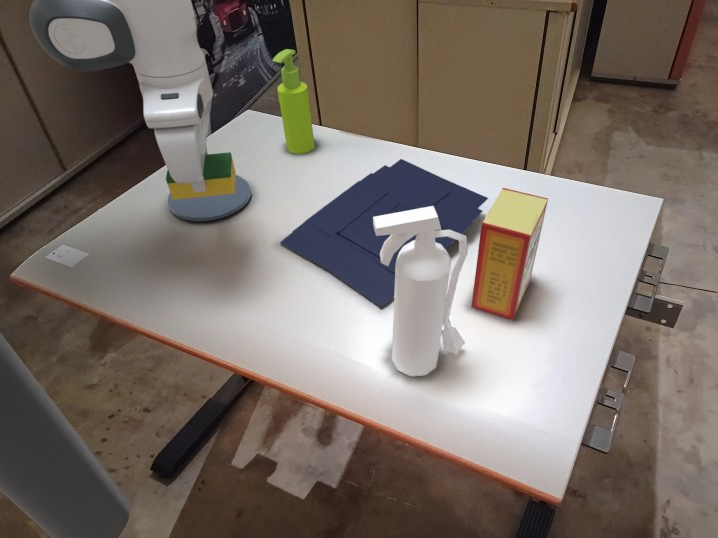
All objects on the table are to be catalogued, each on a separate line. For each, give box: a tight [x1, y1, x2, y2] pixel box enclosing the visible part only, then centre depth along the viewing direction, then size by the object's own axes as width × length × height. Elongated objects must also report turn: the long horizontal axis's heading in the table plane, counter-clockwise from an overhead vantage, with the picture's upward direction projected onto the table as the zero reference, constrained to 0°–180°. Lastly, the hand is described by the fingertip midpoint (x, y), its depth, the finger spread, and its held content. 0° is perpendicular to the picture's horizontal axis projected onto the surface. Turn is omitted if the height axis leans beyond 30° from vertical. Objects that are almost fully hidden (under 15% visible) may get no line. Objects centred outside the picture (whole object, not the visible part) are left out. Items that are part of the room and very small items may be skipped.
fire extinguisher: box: [373, 206, 468, 377], centre depth 68 cm, size 7×12×25 cm, turn 99°
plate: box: [167, 174, 252, 222], centre depth 104 cm, size 15×15×1 cm
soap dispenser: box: [271, 48, 316, 155], centre depth 111 cm, size 6×7×20 cm
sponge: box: [165, 151, 236, 200], centre depth 83 cm, size 9×6×4 cm, turn 101°
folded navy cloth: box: [279, 158, 489, 308], centre depth 96 cm, size 24×30×4 cm
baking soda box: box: [470, 187, 549, 321], centre depth 80 cm, size 10×6×16 cm
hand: (202, 176), depth 83 cm, fingers closed on sponge, 6 cm apart
